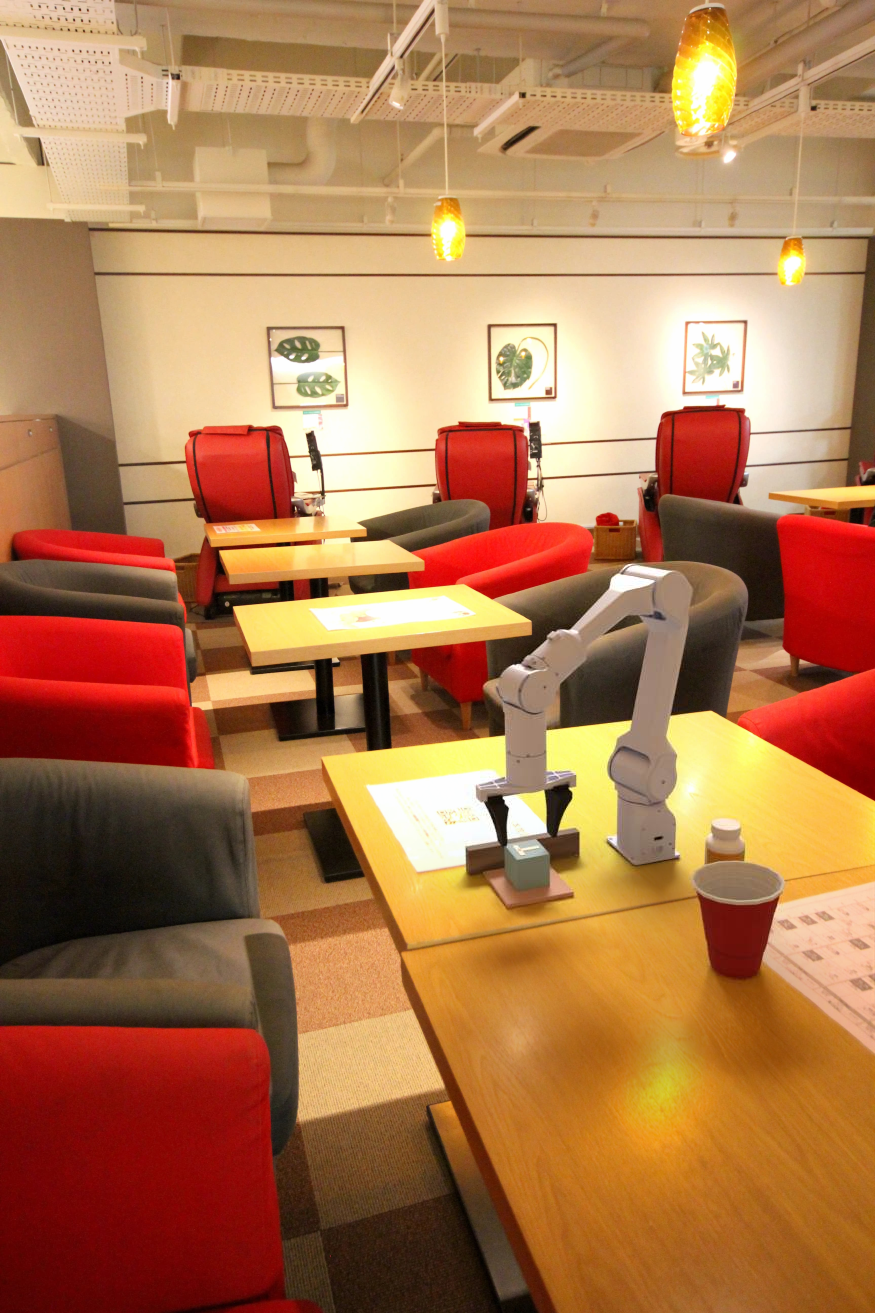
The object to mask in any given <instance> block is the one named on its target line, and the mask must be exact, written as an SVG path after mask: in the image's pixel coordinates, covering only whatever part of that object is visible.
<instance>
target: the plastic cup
mask: <svg viewBox="0 0 875 1313" xmlns="http://www.w3.org/2000/svg"><path fill="white" fill-rule="evenodd" d="M689 880H690V882H691V885H692V888H693V890H694V891H695V892H696V894H697V898H698V901H699V907H700V913H701V918H702V925H703V931H704V937H705V941H706V948H707V955H708V960H709V963H710V966H711V969H712V970H714V972H716V974H719V975H721V976H722V977H725V978H727V979H731V980H748V979H753V978H754V977H755V976H757V975H758V973H759V971H760V968H761V966H762V961H763V957H764V953H765V952H766V950H767V949H766V948H767V946H768V941H769V938H770V934H771V930H772V925H773V922H774V921H773V920H774V917H775V913H776V910H777V906H778V903H779V900H780V897H781V895H783V892H784V889H785V886H786V884H787V882H786V880H785V879H784V877H783V876H782V874H781V873H780V872H778V871H776V870H774V868H771V867H769V866H766V865H763V864H759V863H756V862H749V861H745V860H744V861H719V862H715V863H710V864H706V865H704V864H703V865H702V866H700V867H698V868H696V869H695V870H693V872H692V874H691V875H690V878H689Z"/></svg>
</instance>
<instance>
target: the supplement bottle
mask: <svg viewBox="0 0 875 1313" xmlns="http://www.w3.org/2000/svg"><path fill="white" fill-rule="evenodd" d="M710 826H711V827H710V832H711V833H710V834H708V835H707V836H706V838H705V844H704V845H705V846H704V847H705V848H704V864H703V865H706V864H710V863H715V862H719V861H744V862H745V857H746V855H745V854H746V842H745V840H744V838H743V837H742V836H741V832H742V825H741V823H740V822H738V821H737V820H735V819H731V818H726V817H725V818H724V817H723V818H716V819H714V820H712V821H711V825H710Z"/></svg>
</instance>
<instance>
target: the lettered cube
mask: <svg viewBox="0 0 875 1313" xmlns="http://www.w3.org/2000/svg"><path fill="white" fill-rule="evenodd" d="M504 853H505V876H506V878H507V879H508V880H509V882H510V883H511V884H512V885H513V887H514V888H515V889H516V891H517V892H519V891H524V890H530V889H535V888H540V887H546V886H550V866H551V864H550V863H551V861H550V854H549V853H548V852H547V850H546V849H545V848H544V847H543V846H542V845H541V844H540V843H539V842H538V841H537V840H536V839H535V840H529V841H523V842H517V843H511V844H507V846H505V847H504Z"/></svg>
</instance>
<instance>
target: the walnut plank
mask: <svg viewBox="0 0 875 1313" xmlns="http://www.w3.org/2000/svg"><path fill="white" fill-rule="evenodd" d="M580 837H581V835H580V831H579V829H577V827H571V828H567V829H560V830H558V834H557V837H555V838H552V837H551V836H550V835H549V834H548V833H547V832H541V833H537V834H530V835H524V836H519V837H513V838H508V842H507V844H511V843H517V842H523V841H529V840H535V839H536V840H537V841H538V842H539V843H540V844H541V845H542V846H543V847H544V848H545V849H546V850H547V852H548V853H549V854H550V862H551V861H556V860H561V859H567V858H573V857H578V856H579V857H580V855H581V854H580V853H581V852H580V849H581V848H580V847H581V846H580V841H581V840H580V839H581V838H580ZM501 868H505V853H504V847H502V846H501V845H500V843H499V842H498V840H494V841H489V842H484V843H479V844H472V845H466V846H465V870H466V873H467V874H468V875H469V876H472V875H478V874H484V871H490V870H495V869H501Z"/></svg>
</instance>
